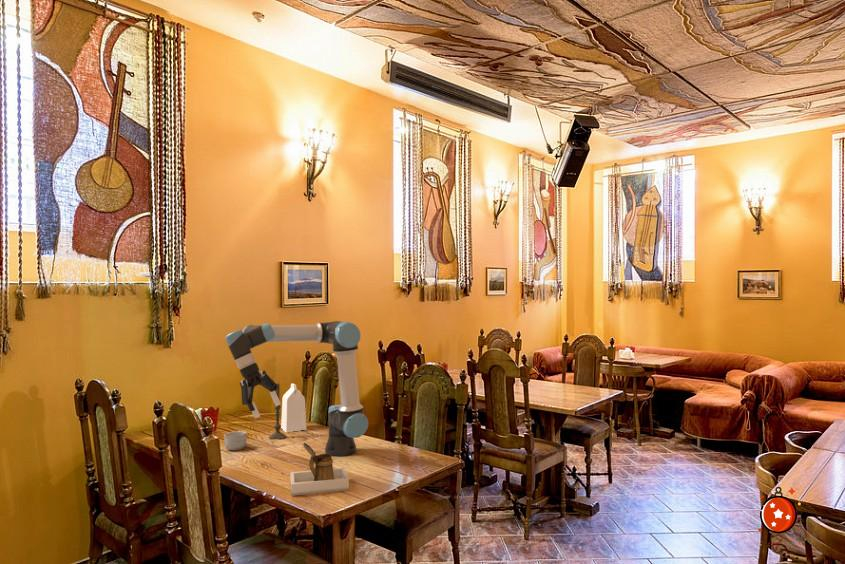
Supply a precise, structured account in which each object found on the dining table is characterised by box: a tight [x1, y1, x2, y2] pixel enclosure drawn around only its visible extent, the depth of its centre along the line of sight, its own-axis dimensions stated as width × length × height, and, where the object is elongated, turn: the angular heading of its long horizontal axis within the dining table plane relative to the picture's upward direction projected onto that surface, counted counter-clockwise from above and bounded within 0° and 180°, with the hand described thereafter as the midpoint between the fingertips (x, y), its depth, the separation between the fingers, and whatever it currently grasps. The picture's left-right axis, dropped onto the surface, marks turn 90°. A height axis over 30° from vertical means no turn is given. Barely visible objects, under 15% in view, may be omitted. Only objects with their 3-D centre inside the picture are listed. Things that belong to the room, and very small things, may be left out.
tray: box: [289, 467, 350, 497], centre depth 223 cm, size 22×15×4 cm
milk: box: [280, 383, 307, 433], centre depth 321 cm, size 12×12×26 cm
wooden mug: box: [302, 442, 335, 481], centre depth 223 cm, size 9×14×18 cm, turn 129°
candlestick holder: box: [268, 382, 287, 440], centre depth 303 cm, size 9×9×30 cm
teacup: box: [223, 430, 247, 452], centre depth 282 cm, size 14×11×8 cm
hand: (268, 411), depth 235 cm, fingers open, 13 cm apart
